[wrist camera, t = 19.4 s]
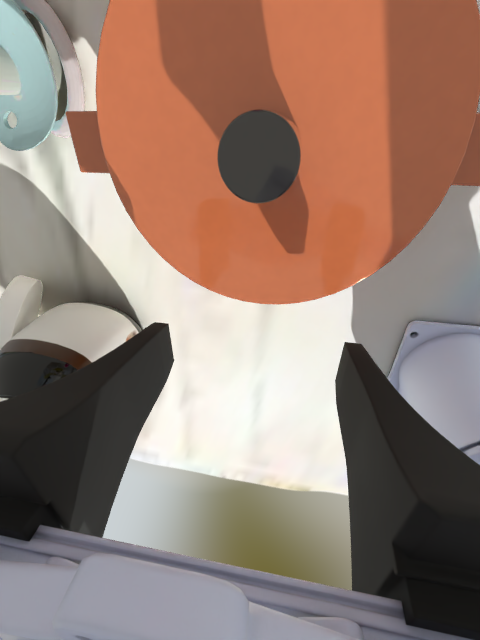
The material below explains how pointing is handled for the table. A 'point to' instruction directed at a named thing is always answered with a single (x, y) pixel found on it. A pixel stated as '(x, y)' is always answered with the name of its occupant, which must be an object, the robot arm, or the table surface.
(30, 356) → the spread jar
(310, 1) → the lid
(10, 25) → the pacifier
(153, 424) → the table surface
